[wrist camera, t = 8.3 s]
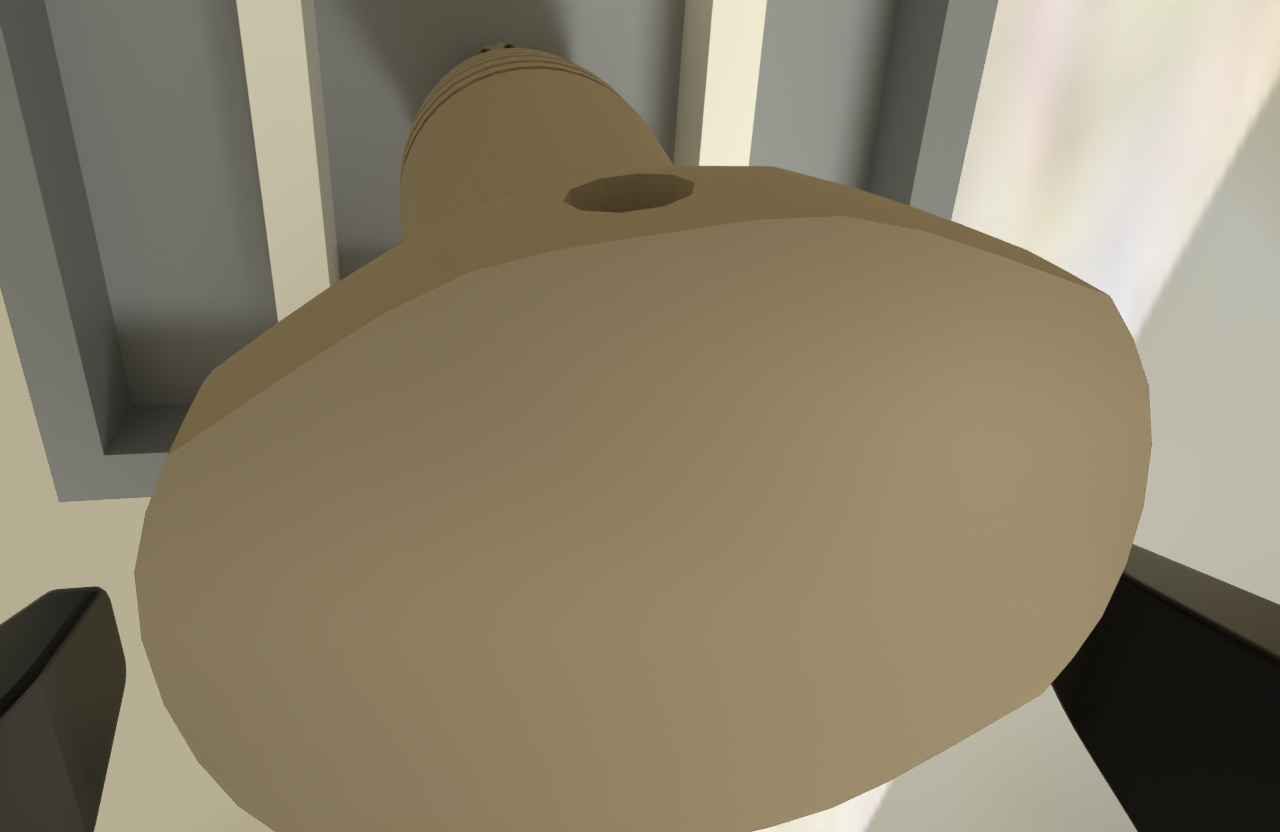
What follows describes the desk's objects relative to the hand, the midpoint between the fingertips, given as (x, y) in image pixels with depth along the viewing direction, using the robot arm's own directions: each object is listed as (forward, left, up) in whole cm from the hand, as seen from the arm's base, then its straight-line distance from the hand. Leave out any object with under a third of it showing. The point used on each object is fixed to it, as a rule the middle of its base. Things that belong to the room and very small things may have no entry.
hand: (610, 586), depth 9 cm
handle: (+2, 0, -13) cm, 13 cm away
